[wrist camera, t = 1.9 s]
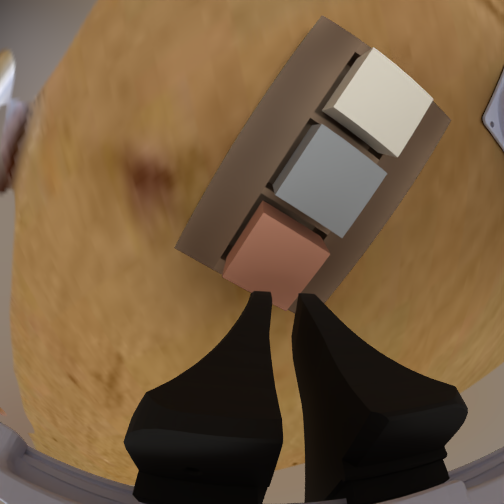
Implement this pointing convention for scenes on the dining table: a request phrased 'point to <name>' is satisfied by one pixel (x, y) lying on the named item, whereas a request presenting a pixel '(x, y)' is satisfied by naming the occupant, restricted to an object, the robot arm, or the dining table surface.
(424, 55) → the dining table surface
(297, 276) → the terracotta key
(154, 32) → the dining table surface
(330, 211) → the slate key
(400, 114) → the cream key
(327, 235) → the key block
